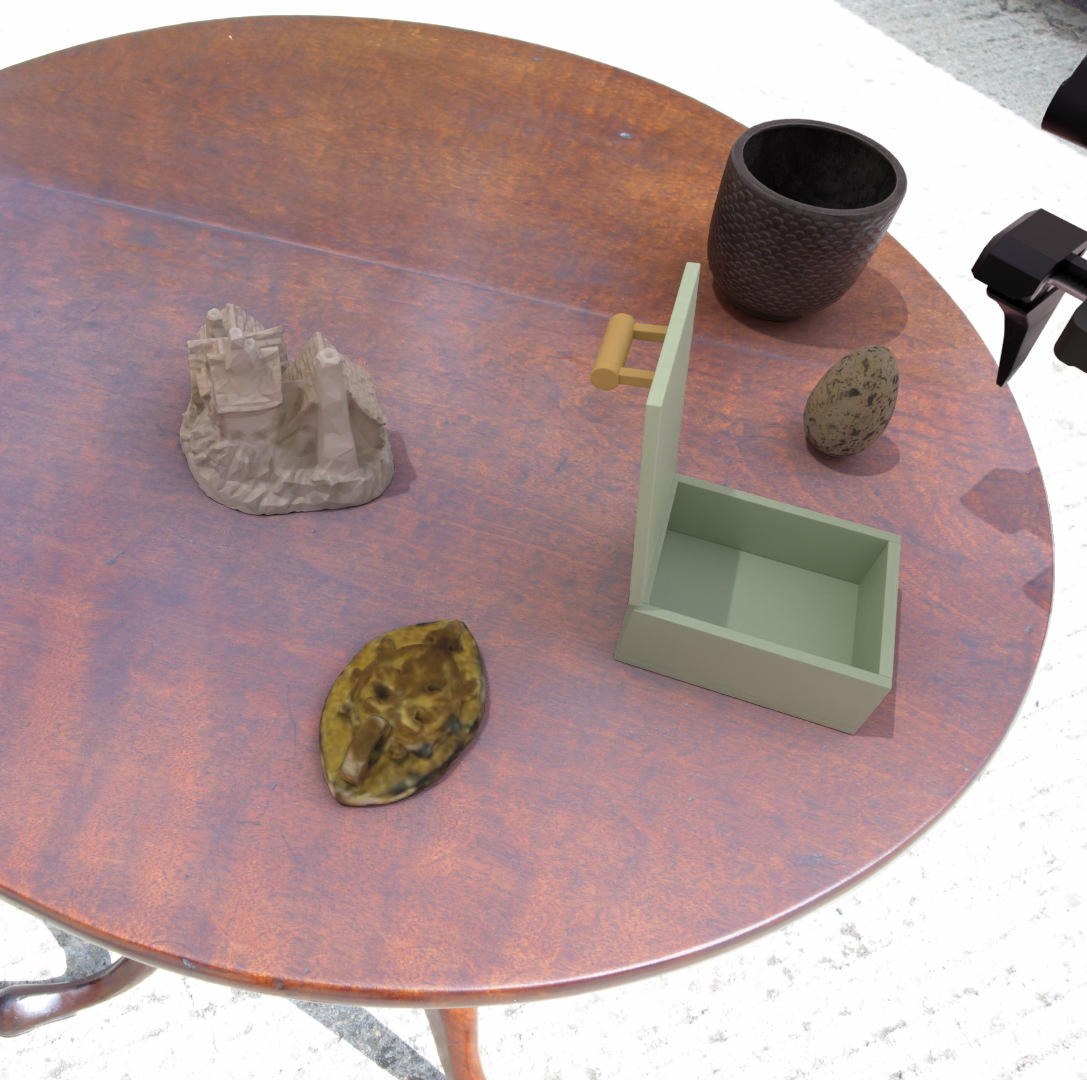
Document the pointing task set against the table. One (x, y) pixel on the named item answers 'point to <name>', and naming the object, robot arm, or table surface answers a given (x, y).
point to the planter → (800, 215)
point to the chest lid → (652, 411)
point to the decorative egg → (853, 402)
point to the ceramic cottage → (281, 421)
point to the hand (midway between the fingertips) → (1068, 423)
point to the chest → (768, 605)
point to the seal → (401, 712)
